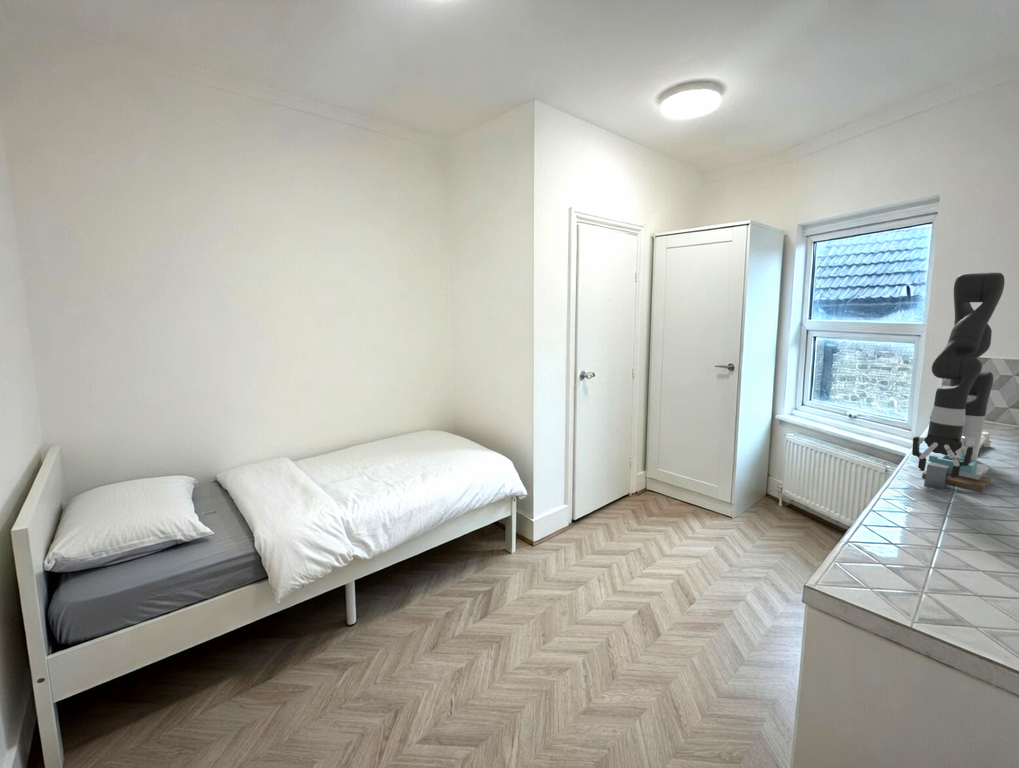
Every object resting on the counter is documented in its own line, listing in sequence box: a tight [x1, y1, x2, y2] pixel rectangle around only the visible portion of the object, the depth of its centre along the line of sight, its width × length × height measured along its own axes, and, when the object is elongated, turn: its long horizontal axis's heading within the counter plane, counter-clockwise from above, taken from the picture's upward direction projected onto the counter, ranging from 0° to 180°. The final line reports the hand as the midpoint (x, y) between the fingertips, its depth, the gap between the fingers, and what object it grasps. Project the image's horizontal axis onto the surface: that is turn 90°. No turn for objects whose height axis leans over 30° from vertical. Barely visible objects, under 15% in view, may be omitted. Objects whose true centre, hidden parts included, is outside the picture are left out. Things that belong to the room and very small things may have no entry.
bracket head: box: [928, 453, 979, 473], centre depth 148 cm, size 8×11×2 cm
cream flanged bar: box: [979, 431, 993, 450], centre depth 184 cm, size 5×7×25 cm
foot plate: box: [921, 469, 992, 492], centre depth 150 cm, size 14×14×2 cm
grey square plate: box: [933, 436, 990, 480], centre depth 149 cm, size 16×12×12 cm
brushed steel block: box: [923, 461, 950, 491], centre depth 143 cm, size 4×4×7 cm
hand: (937, 473), depth 143 cm, fingers open, 6 cm apart
